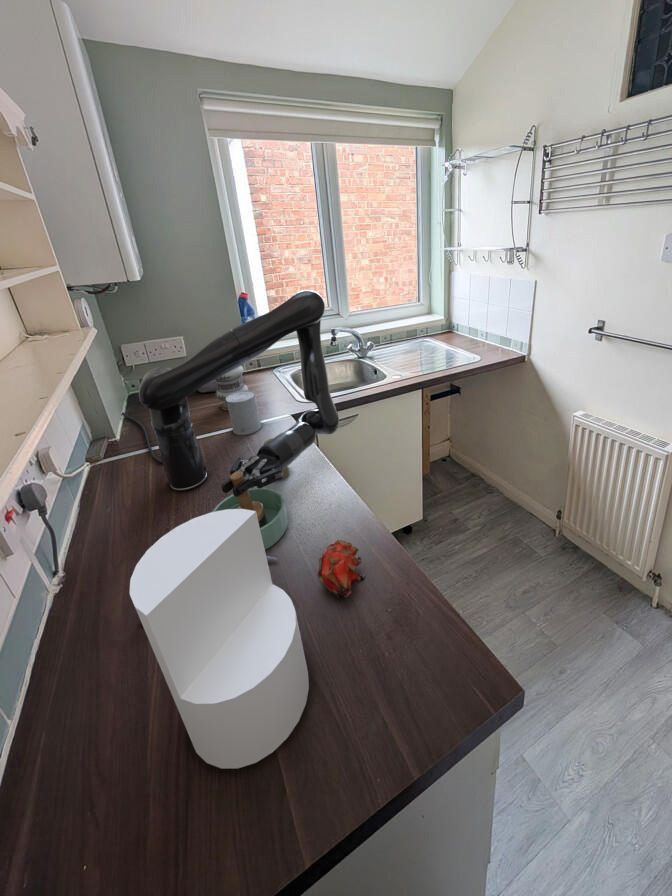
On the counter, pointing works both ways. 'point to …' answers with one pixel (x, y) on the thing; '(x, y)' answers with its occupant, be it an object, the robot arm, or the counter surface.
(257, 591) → the stepped white drum
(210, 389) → the grey rounded bag
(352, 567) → the dragon fruit
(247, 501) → the dish brush
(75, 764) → the counter surface
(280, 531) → the bowl
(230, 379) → the apothecary jar
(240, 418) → the white canister
